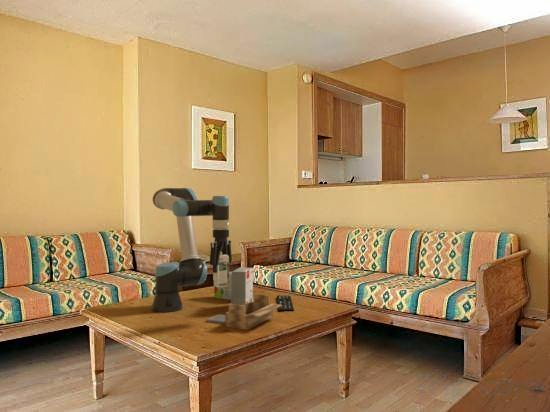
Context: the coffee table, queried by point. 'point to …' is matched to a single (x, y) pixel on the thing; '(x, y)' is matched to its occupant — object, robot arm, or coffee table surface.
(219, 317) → the plate
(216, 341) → the coffee table surface
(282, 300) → the remote control
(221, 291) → the snack box
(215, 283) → the syrup box
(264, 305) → the light wood open box
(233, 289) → the hard drive box
